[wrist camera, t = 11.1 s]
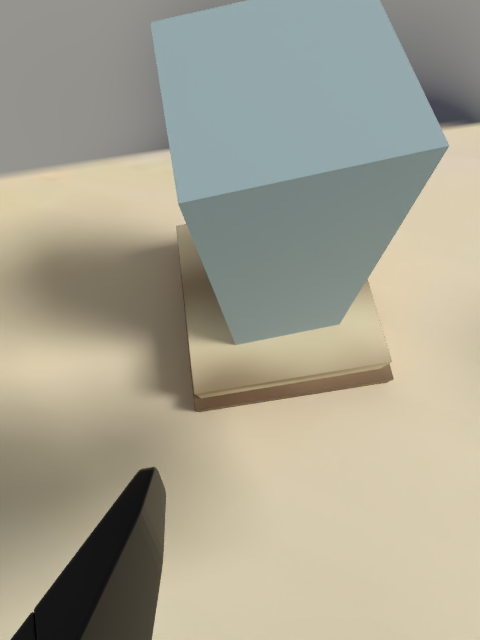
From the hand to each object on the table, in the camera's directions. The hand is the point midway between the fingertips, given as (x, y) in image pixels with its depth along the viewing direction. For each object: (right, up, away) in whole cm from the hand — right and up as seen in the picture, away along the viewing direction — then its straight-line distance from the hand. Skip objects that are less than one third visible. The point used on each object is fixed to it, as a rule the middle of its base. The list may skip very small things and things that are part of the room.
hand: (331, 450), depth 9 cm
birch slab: (0, +4, +12) cm, 13 cm away
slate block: (0, +5, +10) cm, 12 cm away
